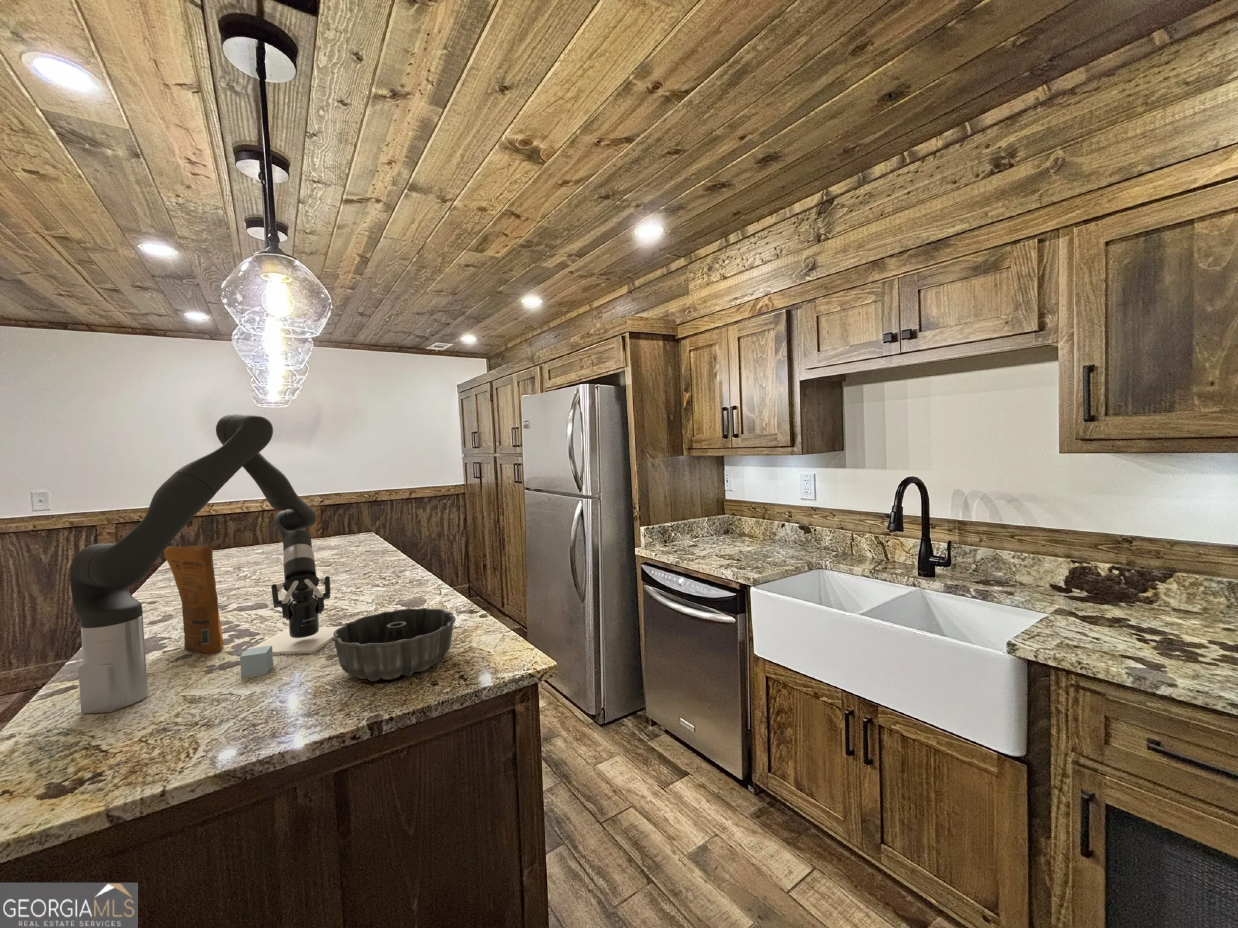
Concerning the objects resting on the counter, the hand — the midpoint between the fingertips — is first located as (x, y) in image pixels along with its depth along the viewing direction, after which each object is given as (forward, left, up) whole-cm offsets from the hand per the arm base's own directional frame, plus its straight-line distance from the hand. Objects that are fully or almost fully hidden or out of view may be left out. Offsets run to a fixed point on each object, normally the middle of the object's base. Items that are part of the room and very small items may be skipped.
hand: (304, 615), depth 136 cm
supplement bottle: (+1, +1, -6) cm, 6 cm away
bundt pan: (-16, -31, -8) cm, 36 cm away
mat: (+3, +4, -8) cm, 10 cm away
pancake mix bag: (+1, +29, -8) cm, 30 cm away
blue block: (-16, +2, -8) cm, 18 cm away
